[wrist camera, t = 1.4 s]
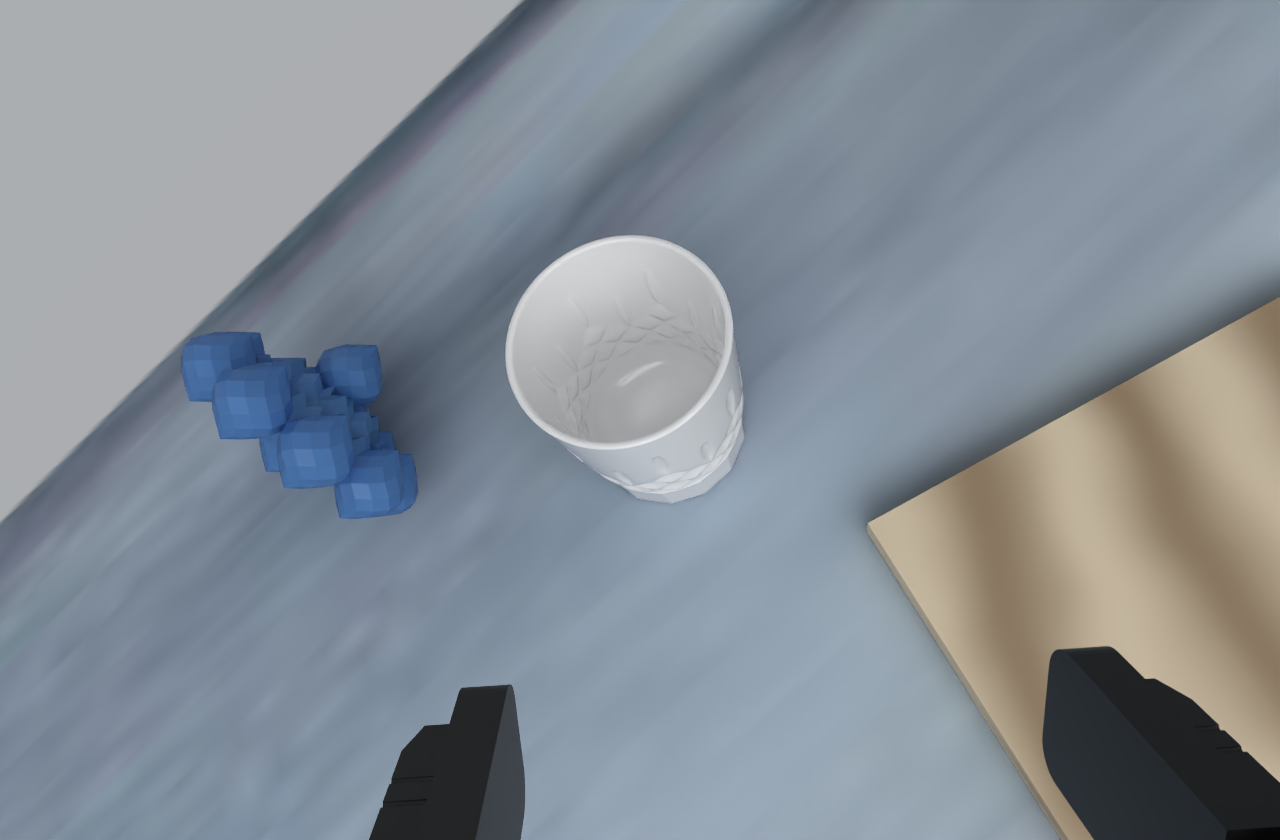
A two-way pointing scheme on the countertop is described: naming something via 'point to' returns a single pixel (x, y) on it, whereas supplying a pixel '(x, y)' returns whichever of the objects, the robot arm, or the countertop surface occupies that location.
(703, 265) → the white cup
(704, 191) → the countertop surface
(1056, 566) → the oak board
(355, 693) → the countertop surface
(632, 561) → the countertop surface
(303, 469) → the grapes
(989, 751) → the countertop surface
